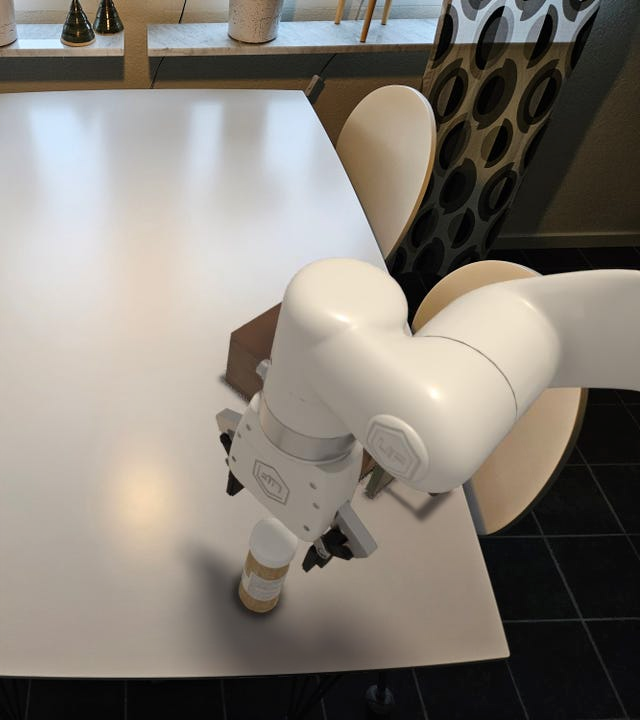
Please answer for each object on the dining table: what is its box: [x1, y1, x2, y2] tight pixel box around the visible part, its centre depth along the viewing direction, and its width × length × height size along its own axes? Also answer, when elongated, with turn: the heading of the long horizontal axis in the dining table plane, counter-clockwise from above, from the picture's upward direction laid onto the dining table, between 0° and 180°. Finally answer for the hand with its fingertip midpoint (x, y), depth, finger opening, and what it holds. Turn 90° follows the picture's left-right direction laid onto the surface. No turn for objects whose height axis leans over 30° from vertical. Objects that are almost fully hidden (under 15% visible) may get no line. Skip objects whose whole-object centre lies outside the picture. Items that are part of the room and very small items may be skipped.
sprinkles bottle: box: [238, 517, 299, 613], centre depth 67 cm, size 5×5×14 cm
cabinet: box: [224, 301, 282, 401], centre depth 88 cm, size 15×13×10 cm
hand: (275, 522), depth 60 cm, fingers open, 9 cm apart
